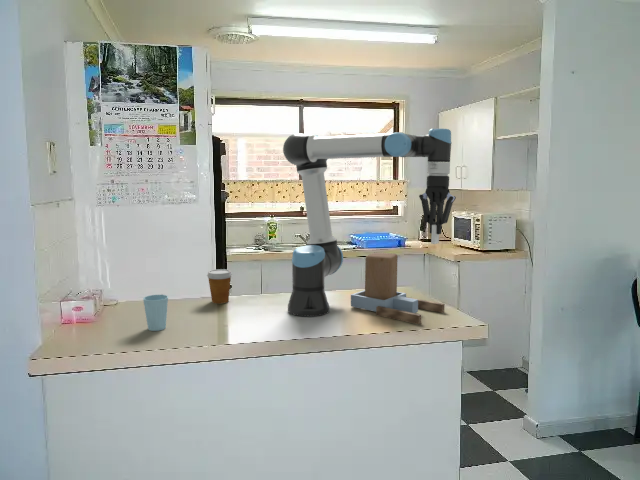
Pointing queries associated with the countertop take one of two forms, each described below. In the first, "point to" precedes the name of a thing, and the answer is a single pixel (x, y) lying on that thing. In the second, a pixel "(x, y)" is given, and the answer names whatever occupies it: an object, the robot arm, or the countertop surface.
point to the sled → (384, 302)
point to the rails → (408, 315)
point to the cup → (156, 311)
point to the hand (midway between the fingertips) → (434, 243)
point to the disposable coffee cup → (219, 285)
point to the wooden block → (381, 275)
